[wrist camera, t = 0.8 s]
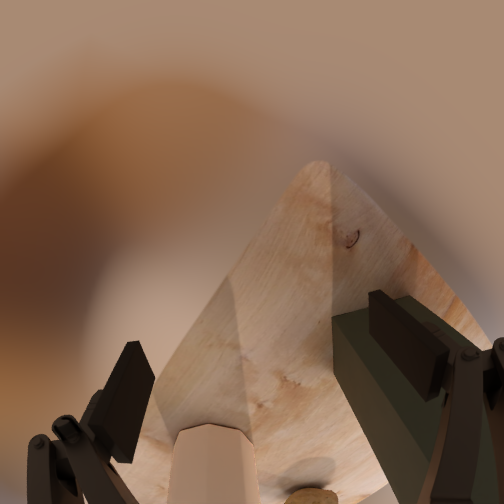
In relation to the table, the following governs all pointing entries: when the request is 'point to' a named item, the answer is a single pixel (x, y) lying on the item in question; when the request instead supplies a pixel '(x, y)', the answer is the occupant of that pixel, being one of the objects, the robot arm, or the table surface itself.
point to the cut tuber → (312, 497)
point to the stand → (400, 407)
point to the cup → (213, 467)
